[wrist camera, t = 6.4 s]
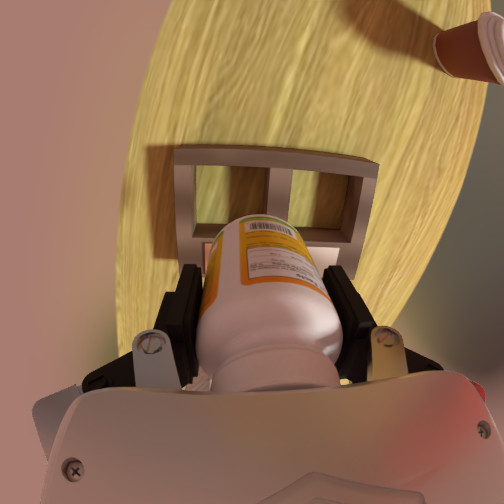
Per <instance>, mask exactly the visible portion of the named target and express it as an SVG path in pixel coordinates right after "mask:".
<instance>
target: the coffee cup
mask: <svg viewBox="0 0 504 504" xmlns="http://www.w3.org/2000/svg"><path fill="white" fill-rule="evenodd" d="M432 48H433V52H434V56H435V58H436V60H437V62H438V64H439V66H440V67H441V68H442V69H443V71H444V72H445V73H447V74H448V75H450V76H451V77H454V78H463V79H471V80H478V81H484V82H490V83H495V84H500V85H502V86H503V87H504V18H503V17H502V16H500V15H498V14H497V13H494V12H493V11H492V12H484V13H481V15H480V17H479V18H478V20H477V21H473V22H470V23H467V24H464V25H461V26H458V27H455V28H452V29H449V30H446V31H444V32H441V33H437V34H436V35H435V37H434V38H433V44H432Z"/></svg>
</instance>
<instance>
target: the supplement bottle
mask: <svg viewBox="0 0 504 504" xmlns="http://www.w3.org/2000/svg"><path fill="white" fill-rule="evenodd" d="M342 343H343V331H342V326H341V323H340V320H339V317H338V313H337V311H336V309H335V307H334V305H333V302H332V301H331V298H330V296H329V294H328V292H327V290H326V288H325V286H324V283H323V281H322V279H321V277H320V274H319V272H318V270H317V268H316V266H315V264H314V261H313V259H312V257H311V255H310V253H309V251H308V249H307V247H306V245H305V243H304V241H303V239H302V237H301V236H300V234H299V233H298V231H297V230H296V229H295V228H294V227H293V226H291V225H290V224H289V223H287V222H286V221H284V220H282V219H280V218H277V217H275V216H271V215H265V214H254V215H248V216H244V217H241V218H238V219H236V220H234V221H232V222H231V223H229V224H228V225H226V226H225V227H224V228H223V229H222V230H221V231H220V232H219V234H218V235H217V236H216V238H215V239H214V241H213V243H212V246H211V249H210V253H209V258H208V263H207V270H206V275H205V281H204V286H203V292H202V297H201V304H200V309H199V315H198V322H197V328H196V340H195V350H196V356H197V359H198V362H199V364H200V366H201V368H202V369H203V371H204V372H205V373H206V375H207V376H208V377H209V378H210V379H211V380H212V383H211V387H210V392H267V391H288V390H302V389H313V388H323V387H332V386H340V385H341V384H340V380H339V375H338V372H337V369H336V367H335V366H334V364H335V362H336V361H337V359H338V357H339V355H340V352H341V348H342Z"/></svg>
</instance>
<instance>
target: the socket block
mask: <svg viewBox="0 0 504 504" xmlns="http://www.w3.org/2000/svg"><path fill="white" fill-rule="evenodd" d="M196 165H218V166H249V167H266V176H265V189H264V202H263V214H265V215H271V216H275V217H277V218H280V219H282V220H284V221H286V222H287V219H288V210H289V201H290V192H291V182H292V172H293V169H296V170H307V171H317V172H327V173H336V174H344V175H349V182H348V188H347V194H346V200H345V206H344V212H343V217H342V223H341V228H340V229H322V228H303V227H294V228H295V229H296V230H297V231H298V233H299V234H300V236H301V237H302V239H303V241H304V243H305V245H306V247H307V249H308V251H309V253H310V255H311V257H312V259H313V261H314V264H315V266H316V268H317V270H318V272H319V274H320V277H321V279H322V277H323V272H324V269H325V268H328V266H329V265H341V266H342V268H343V269H344V271H345V273H346V274H347V276H348V278H349V279H350V280H354V278H355V274H356V270H357V267H358V263H359V259H360V255H361V252H362V248H363V243H364V239H365V235H366V231H367V226H368V222H369V217H370V213H371V208H372V203H373V198H374V193H375V187H376V182H377V176H378V170H379V164H377V163H375V162H373V161H370V160H368V159H366V158H361V157H355V156H349V155H342V154H335V153H327V152H319V151H310V150H301V149H290V148H278V147H264V146H245V145H180V146H178V147H176V148H174V196H175V219H176V236H177V250H178V263H179V274H180V275H181V272H182V268H183V265H184V264H197V267H201V271H202V277H205V275H206V270H207V263H208V258H209V253H210V249H211V246H212V243H213V241H214V239H215V238H216V236H217V235H218V234H219V232H220V231H221V230H222V229H223V228H224V227H225V226H226V224H197V221H196Z"/></svg>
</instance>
